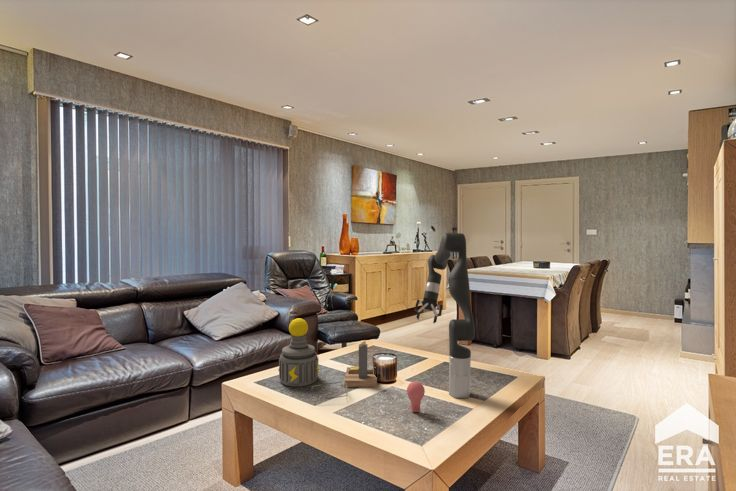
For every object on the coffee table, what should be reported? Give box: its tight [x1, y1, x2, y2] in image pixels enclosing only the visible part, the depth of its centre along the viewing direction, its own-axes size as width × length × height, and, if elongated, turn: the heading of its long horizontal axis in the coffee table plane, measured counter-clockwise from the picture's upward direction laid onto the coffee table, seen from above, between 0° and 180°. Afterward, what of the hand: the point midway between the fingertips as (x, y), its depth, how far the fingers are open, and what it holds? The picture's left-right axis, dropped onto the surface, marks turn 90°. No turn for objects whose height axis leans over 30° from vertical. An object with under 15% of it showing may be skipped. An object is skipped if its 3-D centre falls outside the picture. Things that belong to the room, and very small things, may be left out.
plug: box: [358, 340, 369, 378], centre depth 202 cm, size 4×4×17 cm
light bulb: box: [406, 381, 426, 413], centre depth 172 cm, size 7×7×12 cm
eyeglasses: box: [311, 379, 349, 406], centre depth 188 cm, size 16×15×5 cm
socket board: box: [343, 366, 378, 388], centre depth 207 cm, size 18×15×3 cm
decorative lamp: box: [278, 317, 320, 388], centre depth 205 cm, size 19×19×30 cm
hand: (425, 321), depth 228 cm, fingers open, 8 cm apart
